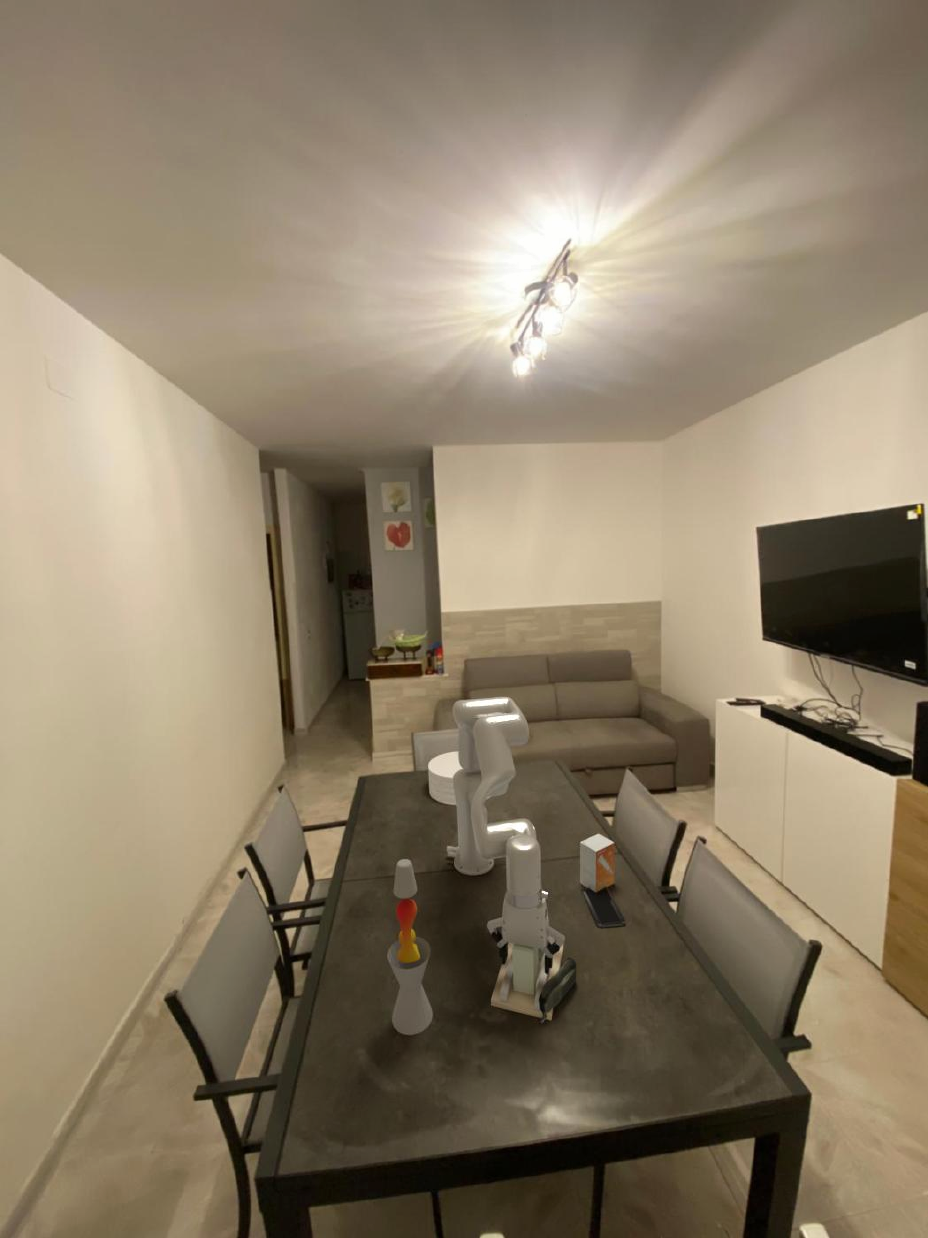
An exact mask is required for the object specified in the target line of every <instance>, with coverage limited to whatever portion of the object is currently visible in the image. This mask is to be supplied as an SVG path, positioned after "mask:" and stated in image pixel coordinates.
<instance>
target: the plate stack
mask: <svg viewBox="0 0 928 1238" xmlns="http://www.w3.org/2000/svg"><path fill="white" fill-rule="evenodd" d="M427 764H428V765H427V769H428V789H429V795H430V796H431V798H432V799H434V800H435V801H436V802H439V803H442V804H445V805H449V806H450V805H453V806H456V798H455V793H454V788H453V776H454V774H455V773H456V772H457V771H458V770H460V769H463V768H462V767H461V766H460V764H459V759H458V750H457V751H449V752H445V753H442V754H439V755H436V756H435V757H433V758H431V760H430V761H429V762H428V763H427ZM490 798H491V797H487V798H486V800H489V799H490ZM486 800H485V801H486Z"/></svg>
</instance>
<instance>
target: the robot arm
mask: <svg viewBox="0 0 928 1238" xmlns="http://www.w3.org/2000/svg"><path fill="white" fill-rule="evenodd" d="M452 717H453V719H454V722H455V724H456V726H457V729H458V738H457V739H458V741H457V742H458V743H457V745H458V747H457V749H458V750H457V751H458V759H459V764H460V766H461V767H462V768H463V769H460V770H458V771H457V772H456V773H455V774H454V776H453V788H454V793H455V798H456V805H455V806H456V820H457V821H456V822H457V840H458V841H457V843H458V845H457V846H453V845H447V846H446V853H447V857H450V858H454V860H453V861H454V862H453V863H454V868H455V870H456V871H458V872H459V873H461V874H463V875H467V876H479V875H480V876H481V875H484V874H486V873H489V872H490V871H491V870H492V869H493V868H494V865H495V860H494V859H500V858H505V865H506V866H505V868H506V869H505V870H506V871H505V872H506V892H505V895H504V899H503V904H502V914H501V915H502V916H501V917H498V918H494V919H490V920H488V922H487V925H486V927H487V929H488V932H489V933H490V936H491V938H492V939H493V940H494V941H495V942H496V947H498V949H499V958H501V965H502V964H503V965H504V964H506V960H507V957H508V943H513V944H518V945H523V946H528V947H533V948H539V949H542V950H543V952H544V953H545V973H546V974H548V973H549V968H552V965H553V955H554V954H555V953H557V952H558V951H559V950H560V948H561V946H562V945H563V946H564V944H565V941H566V937H565V935H564V934H562V933H561V932H560V931H558V930H556V929H555V928H553V927H552V926H550V919H549V910H548V906H547V902H546V901H547V900H548V898H549V892H548V891H546V890H544V889H543V885H542V871H541V870H542V867H541V866H542V865H541V861H542V860H541V855H542V854H541V846H540V843H539V841H538V840H537V831H536V828H535V826H534V824H532V822H531V820H529V819H528V818H517V819H510V820H502V821H496V822H491V823H490V822H489V823H488V809H487V808H486V806H485V803H486V798H487V797H490V798H491V797H498V796H502V795H504V794H506V793H507V791H508V789H509V785H510V784H509V783H510V782H511V781H512V780H513V779H514V778H515V777H516V774H517V772H516V768H515V763H514V760H513V755H512V751H511V750H512V749H511V747H513V746H521V745H526V743H528V741H529V738H530V728H529V725H528V721H527V719H526V716H525V714H524V713H523V712H522V710H521V708H519V706H518V705H517V704H516V703H515V701H514V700H513V699H512V698H511V697H508V696H496V697H484V698H483V697H482V698H473V699H471V698H470V699H460V700H457V701H455V702H454V704H453V706H452ZM546 899H547V900H546ZM500 927H501V932H500V931H499V929H498V928H500ZM549 936H550V937H552V938H553V939H555V942H554V943H553V944H552V943H551V941H550V940H549V939H548V937H549Z"/></svg>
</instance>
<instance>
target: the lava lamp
mask: <svg viewBox="0 0 928 1238" xmlns="http://www.w3.org/2000/svg"><path fill="white" fill-rule="evenodd" d="M415 877H416V876H415V872H414V868H413V864H412V862H411V860H410V859H407V858H406V859H405V858H403V859H400V860H398V861H397V863H396V865H395V874H394V885H393V894H394V896H395V897H396V898H399V899H401V900H400V901H399V902H398V904H397V906H396V909H395V911H396V916H397V920H398V923H399V925H400V929H401V930H400V931H399V935H398V939H397V940H396V941H394V942H393V943H392V944H391V945H390V946H389V948H388V950H387V955H386V958H387V961H388V962H389V963H388V964H389V965H390V967H391V970H392V972H393V975H394V976H395V978H396V980H397V982H398V985H399V990H398V992H397V996H396V1001H395V1005H394V1008H393V1011H392V1018H391V1021H392V1023H391V1024H392V1026H393V1028H394V1029H395V1030H396V1031H397V1032H398V1033H399V1034H402V1035H407V1036H413V1035H418V1034H420V1033H422V1032H423V1031H425V1030H427V1028H428V1027H429V1026H430V1024H431V1023H432V1020H433V1016H434V1014H433V1013H434V1012H433V1008H432V1006H431V1003H430V1001H429V997H428V996H427V994H426V992H425V989H424V987H423V984H422V981H423V979H424V975H425V972H426V967H427V965H428V961H429V960H430V959H429V958H430V956H431V947H430V944H429V942H428V941H427V939H425V938H423V937H420V936H416V932H415V931H414V929H413V925H414V921H415V919H416V916H417V913H418V906H417V904H416V902H415V900H414V899H412V897H413V896H415V894H417V892H418V885H417V880H416V878H415Z"/></svg>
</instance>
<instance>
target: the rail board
mask: <svg viewBox="0 0 928 1238" xmlns="http://www.w3.org/2000/svg"><path fill="white" fill-rule="evenodd" d="M547 938H548V939H549V940H550V941H551V943H552V944H553V943H554V942H555V941H556V940H555V939H553V938H552V937H550V936H549V937H547ZM513 945H514V944H513V943H509V942H508V957H507V960H506V964H504V965H503V964H502V963H501V967H500V970H499V973H498V976H497V979H496V983H495V985H494V988H493V991H492V995H491V998H490V1004H491V1005H490V1006H492V1007H496V1008H500V1009H503V1010H508V1011H511V1012H516V1013H519V1014H524V1015H527V1016H531V1017H536V1018H540V1019H541V1018H542V1016H543V1014H542V1012H541V1010H540V1008H539V996H540V993H541V991H542V989H543V987H544V985H545V983H546V982H547V981H548V980H549V979H551V978H552V977H553V976H554V975H555V974H556V973H557V971H558V970H559V969H560V968H561V967H562V959H563V954H564V944H563V945H562V946H561V948H560V950H559V951H558V952H557V953H555V954H554V955H553V965H552V968H549V973H548V974H546V973H545V953H544V952H543V950H542V949H539V948H538V970H539V974H538V979H537V983H536V988H535V992H534V995H531V994H527V993H522V992H518V991H514V988H513V954H512V948H513ZM553 1013H554V1008H552V1009H551V1010H550V1011H549V1012H547V1017H546V1019H545V1020H548V1021H552V1018H553Z"/></svg>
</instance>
